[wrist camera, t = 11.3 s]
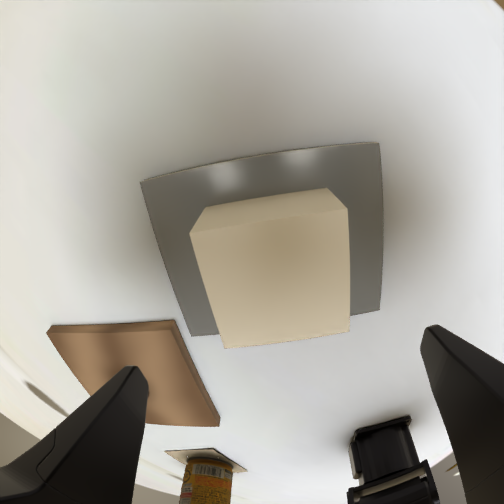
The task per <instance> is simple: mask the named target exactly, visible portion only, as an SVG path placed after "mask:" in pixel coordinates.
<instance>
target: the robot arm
mask: <svg viewBox="0 0 504 504" xmlns="http://www.w3.org/2000/svg"><path fill="white" fill-rule="evenodd" d="M420 351H421V355H422V358H423V361H424V365H425V368H426V371H427V375H428V378H429V382H430V386H431V389H432V392H433V395H434V398H435V400H436V403H437V406H438V408H439V411H440V414H441V416H442V419H443V422H444V425H445V427H446V430H447V433H448V436H449V439H450V442H451V445H452V449H453V452H454V455H455V458H456V461H457V465H458V469H459V472H460V476H461V479H462V483H463V488H464V492H465V497H466V501H467V504H504V364H503V363H502V362H500V361H498V360H497V359H495V358H493V357H492V356H490V355H489V354H487V353H485V352H484V351H482V350H480V349H479V348H477V347H475V346H474V345H472V344H470V343H469V342H467V341H465V340H464V339H462V338H460V337H458V336H457V335H455V334H453V333H452V332H450V331H448V330H447V329H445V328H443V327H441V326H440V325H432V326H429V327H426V329H425V331H424V335H423V338H422V342H421V346H420ZM148 391H149V385H148V381H147V380H146V378H145V376H144V375H143V373H142V372H141V370H140V368H139V367H138V366H136V365H127V366H124V367H123V368H122V369H121V370H120V371H119V372H118V373H117V374H115V375H114V376H113V377H112V378H111V379H110V380H109V381H108V382H106V383H105V384H104V385H103V386H102V387H101V388H100V389H99V390H97V391H96V392H95V393H94V394H93V395H92V396H91V397H90V398H88V399H87V400H86V401H85V402H84V403H83V404H82V405H81V406H79V407H78V408H77V409H76V410H75V411H74V412H73V413H72V414H70V415H69V416H68V417H67V418H66V419H65V420H64V421H63V422H61V423H60V424H59V425H58V426H57V427H56V429H53V430H52V431H51V432H50V433H49V434H48V435H47V436H45V437H44V438H43V439H42V440H41V441H40V442H38V443H37V444H36V445H34V446H33V447H32V448H30V449H29V450H28V451H26V452H25V453H24V454H22V455H21V456H19V457H18V458H17V459H15V460H14V461H12V462H11V463H9V464H8V465H6V466H3V467H0V504H132V497H133V490H134V484H135V478H136V472H137V466H138V460H139V455H140V449H141V444H142V439H143V434H144V428H145V421H146V410H147V400H148ZM411 420H412V419H411V417H410V416H408V417H404V418H401V419H398V420H395V421H391V422H388V423H384V424H380V425H376V426H373V427H368V428H364V429H360V430H357V431H356V432H355V435H354V439H353V442H351V444H350V447H349V451H348V452H349V457H350V463H351V468H352V474H353V478H354V479H359V485H360V486H358V487H352V488H349V489H348V492H347V499H348V504H440V500H439V496H438V492H437V488H436V486H435V482H434V479H433V476H432V473H431V470H430V467H429V464H428V461H427V459H426V460H424V461H422V462H421V463H420V462H419V458H418V455H417V452H416V449H415V446H414V443H413V440H412V437H411V434H410V431H409V428H408V426H409V424H410V422H411ZM423 474H425V477H423V478H421V479H420V477H419V476H421V475H423Z"/></svg>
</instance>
